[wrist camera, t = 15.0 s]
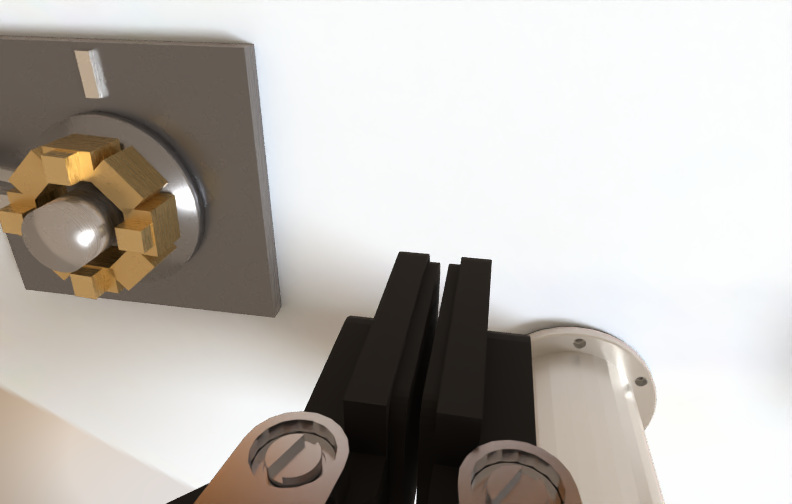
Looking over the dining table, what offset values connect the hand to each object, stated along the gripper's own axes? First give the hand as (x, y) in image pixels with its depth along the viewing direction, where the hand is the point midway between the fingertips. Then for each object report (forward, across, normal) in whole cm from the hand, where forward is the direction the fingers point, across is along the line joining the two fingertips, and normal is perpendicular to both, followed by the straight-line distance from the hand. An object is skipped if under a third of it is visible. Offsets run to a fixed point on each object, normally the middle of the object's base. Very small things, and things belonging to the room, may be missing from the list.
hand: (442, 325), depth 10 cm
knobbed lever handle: (+25, +31, +10) cm, 41 cm away
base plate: (+27, +26, +10) cm, 39 cm away
